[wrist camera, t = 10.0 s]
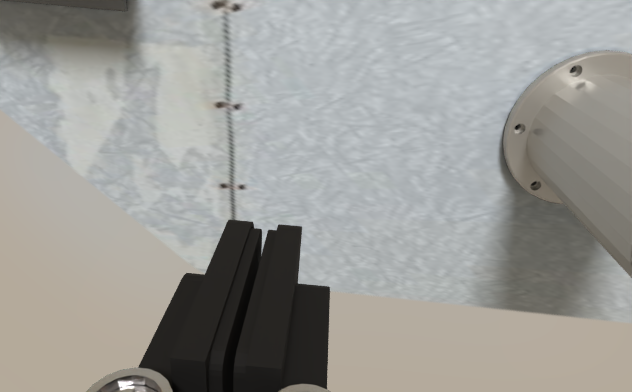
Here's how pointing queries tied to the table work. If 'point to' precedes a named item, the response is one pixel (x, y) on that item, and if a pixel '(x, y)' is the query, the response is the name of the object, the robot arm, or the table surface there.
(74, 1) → the mat
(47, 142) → the table surface
